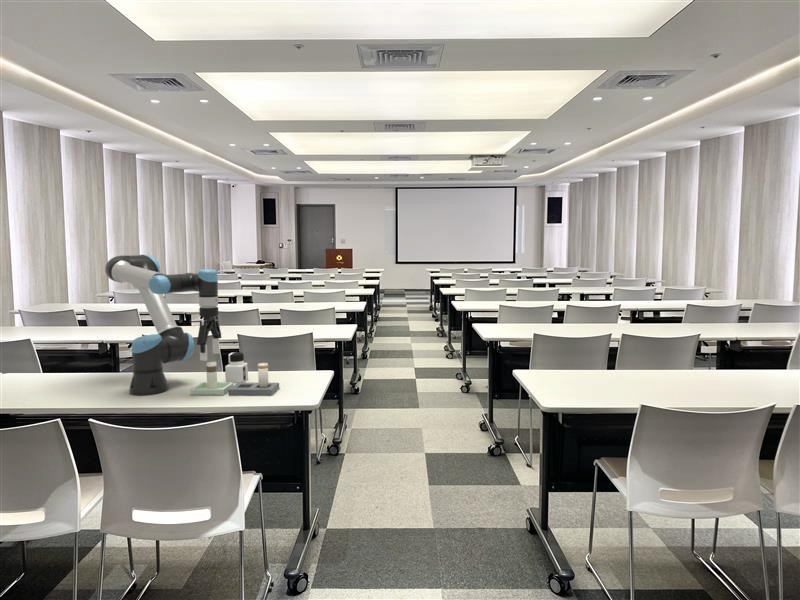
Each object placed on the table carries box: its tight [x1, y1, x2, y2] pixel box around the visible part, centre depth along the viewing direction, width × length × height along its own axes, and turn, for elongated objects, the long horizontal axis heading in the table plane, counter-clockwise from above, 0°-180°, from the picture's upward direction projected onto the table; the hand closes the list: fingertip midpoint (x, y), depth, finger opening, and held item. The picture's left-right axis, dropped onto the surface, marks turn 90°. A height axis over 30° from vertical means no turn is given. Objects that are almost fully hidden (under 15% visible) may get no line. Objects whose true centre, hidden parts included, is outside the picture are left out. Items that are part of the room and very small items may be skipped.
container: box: [224, 351, 249, 384], centre depth 263 cm, size 8×8×13 cm
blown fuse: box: [205, 361, 218, 389], centre depth 245 cm, size 4×4×12 cm
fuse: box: [257, 362, 269, 388], centre depth 244 cm, size 4×4×12 cm
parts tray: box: [189, 381, 235, 397], centre depth 245 cm, size 14×12×2 cm
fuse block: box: [227, 382, 280, 397], centre depth 244 cm, size 18×12×2 cm, turn 87°
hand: (210, 356), depth 244 cm, fingers open, 13 cm apart
